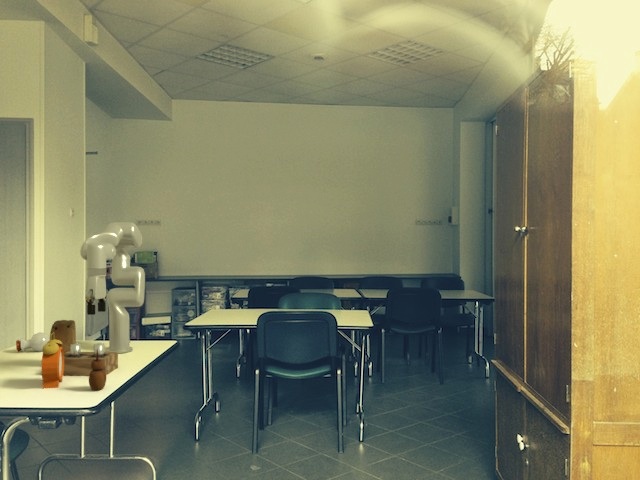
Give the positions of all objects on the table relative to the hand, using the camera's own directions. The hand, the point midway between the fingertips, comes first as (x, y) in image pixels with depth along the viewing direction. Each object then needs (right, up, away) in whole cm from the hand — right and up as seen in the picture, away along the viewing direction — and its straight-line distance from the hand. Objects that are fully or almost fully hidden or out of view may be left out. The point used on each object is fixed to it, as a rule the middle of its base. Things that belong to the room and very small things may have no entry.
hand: (96, 313), depth 231 cm
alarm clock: (-9, -26, -19) cm, 33 cm away
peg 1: (-9, -20, 0) cm, 22 cm away
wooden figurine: (+11, -26, -25) cm, 38 cm away
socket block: (-5, -25, +1) cm, 26 cm away
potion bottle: (-47, -25, +40) cm, 67 cm away
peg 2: (+1, -20, 0) cm, 20 cm away
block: (-20, -25, +11) cm, 34 cm away
